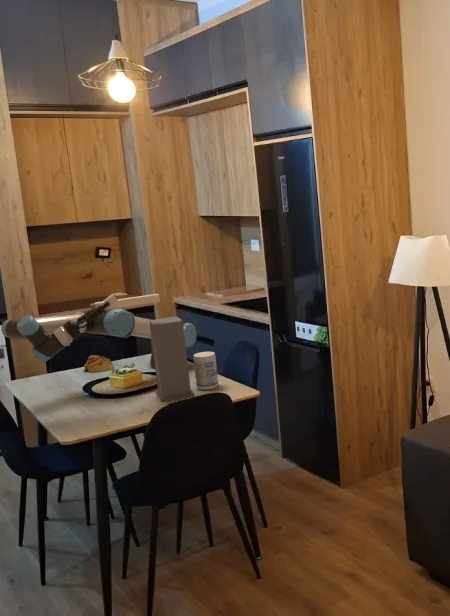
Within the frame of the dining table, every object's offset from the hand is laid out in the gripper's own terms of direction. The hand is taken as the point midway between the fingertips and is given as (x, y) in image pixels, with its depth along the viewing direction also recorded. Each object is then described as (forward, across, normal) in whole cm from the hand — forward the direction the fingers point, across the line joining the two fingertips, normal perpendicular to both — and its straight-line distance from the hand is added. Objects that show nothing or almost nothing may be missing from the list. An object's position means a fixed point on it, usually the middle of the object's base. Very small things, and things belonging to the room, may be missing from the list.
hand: (115, 297), depth 262 cm
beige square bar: (+2, 0, -6) cm, 6 cm away
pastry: (-29, -66, -35) cm, 80 cm away
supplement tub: (+7, -2, -56) cm, 57 cm away
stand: (-6, 0, -48) cm, 49 cm away
